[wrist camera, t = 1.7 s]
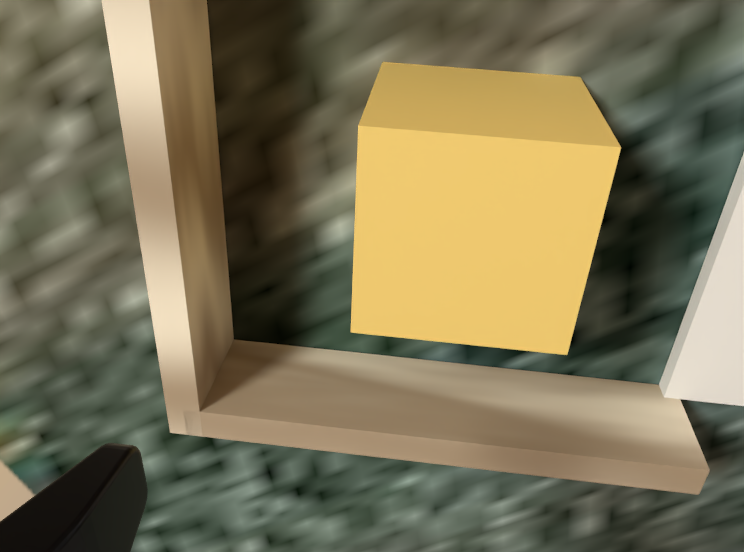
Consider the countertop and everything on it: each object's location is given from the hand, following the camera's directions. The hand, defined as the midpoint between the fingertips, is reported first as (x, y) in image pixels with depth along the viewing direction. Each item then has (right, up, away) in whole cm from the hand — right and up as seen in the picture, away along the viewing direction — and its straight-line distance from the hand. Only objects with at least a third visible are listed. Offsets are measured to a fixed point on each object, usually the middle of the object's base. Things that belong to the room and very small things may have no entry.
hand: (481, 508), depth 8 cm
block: (+1, +6, +10) cm, 12 cm away
